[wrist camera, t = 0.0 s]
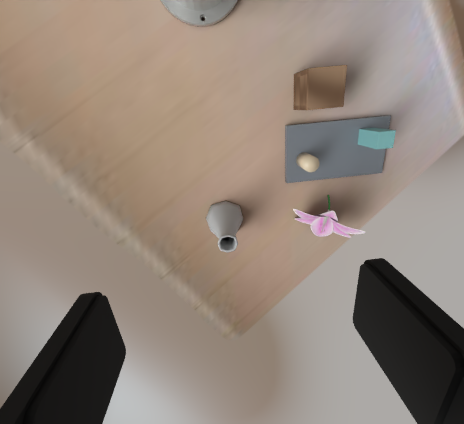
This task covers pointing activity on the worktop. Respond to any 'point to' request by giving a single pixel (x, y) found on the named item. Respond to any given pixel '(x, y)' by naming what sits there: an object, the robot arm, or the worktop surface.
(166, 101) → the worktop surface
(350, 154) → the slate stand
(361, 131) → the teal post
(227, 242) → the flask
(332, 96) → the wooden grain cube
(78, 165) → the worktop surface
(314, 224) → the lily
